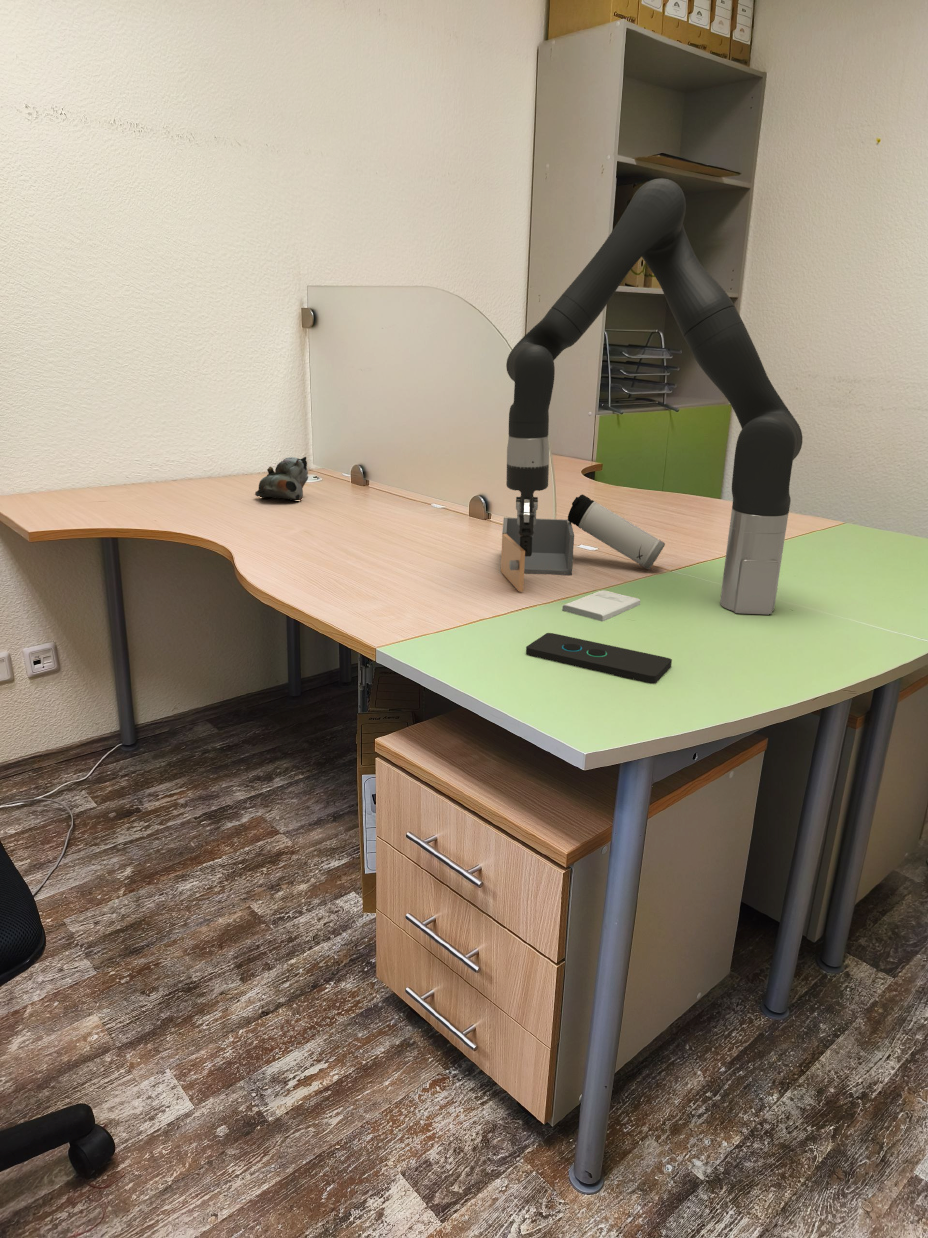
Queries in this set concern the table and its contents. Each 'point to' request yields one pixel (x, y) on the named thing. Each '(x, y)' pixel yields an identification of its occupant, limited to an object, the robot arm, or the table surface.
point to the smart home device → (600, 657)
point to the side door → (513, 562)
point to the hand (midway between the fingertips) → (525, 555)
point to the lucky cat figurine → (285, 480)
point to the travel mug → (615, 531)
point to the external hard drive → (601, 605)
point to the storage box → (546, 545)
